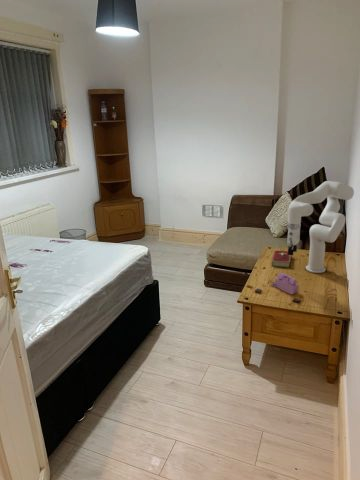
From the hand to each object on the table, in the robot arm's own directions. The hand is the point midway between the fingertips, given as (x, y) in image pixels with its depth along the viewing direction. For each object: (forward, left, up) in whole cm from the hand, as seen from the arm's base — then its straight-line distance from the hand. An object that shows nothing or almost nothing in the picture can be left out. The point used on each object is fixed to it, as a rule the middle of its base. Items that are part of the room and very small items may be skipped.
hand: (292, 252), depth 221 cm
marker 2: (+23, +11, -20) cm, 32 cm away
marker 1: (+23, -12, -20) cm, 32 cm away
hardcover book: (-28, -16, -20) cm, 38 cm away
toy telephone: (+12, 0, -20) cm, 23 cm away
